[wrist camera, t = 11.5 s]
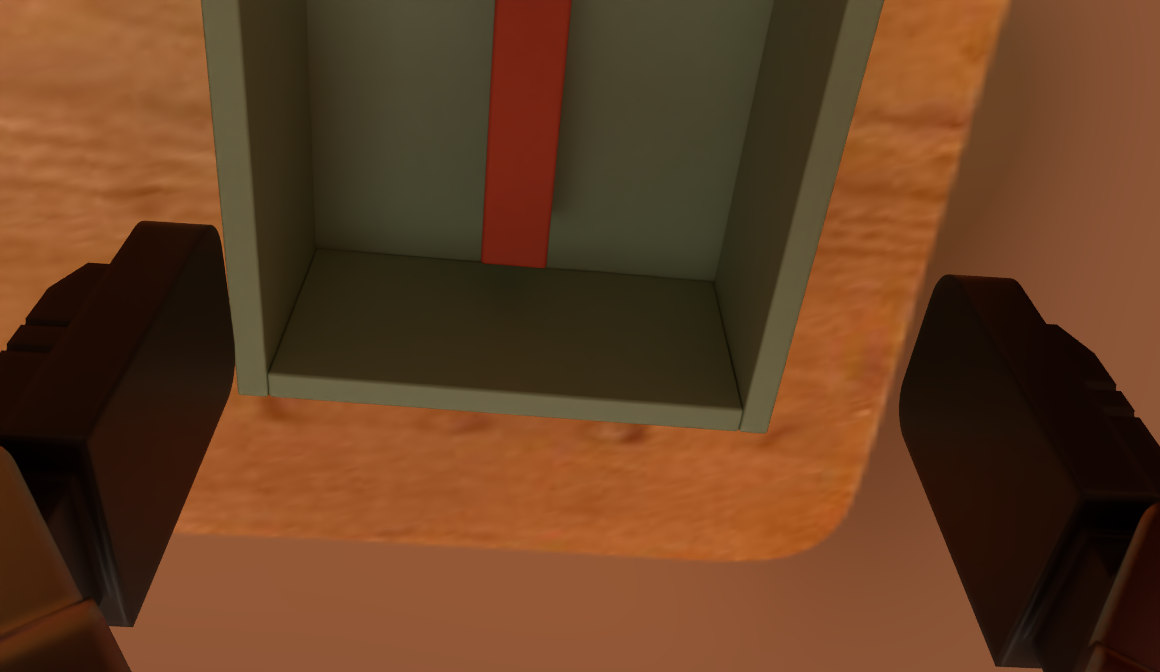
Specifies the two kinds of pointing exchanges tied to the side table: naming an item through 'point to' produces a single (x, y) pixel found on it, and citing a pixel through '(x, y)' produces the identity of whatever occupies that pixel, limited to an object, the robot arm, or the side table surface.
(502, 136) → the red spoon
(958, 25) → the side table surface
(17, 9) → the side table surface
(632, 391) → the bin
